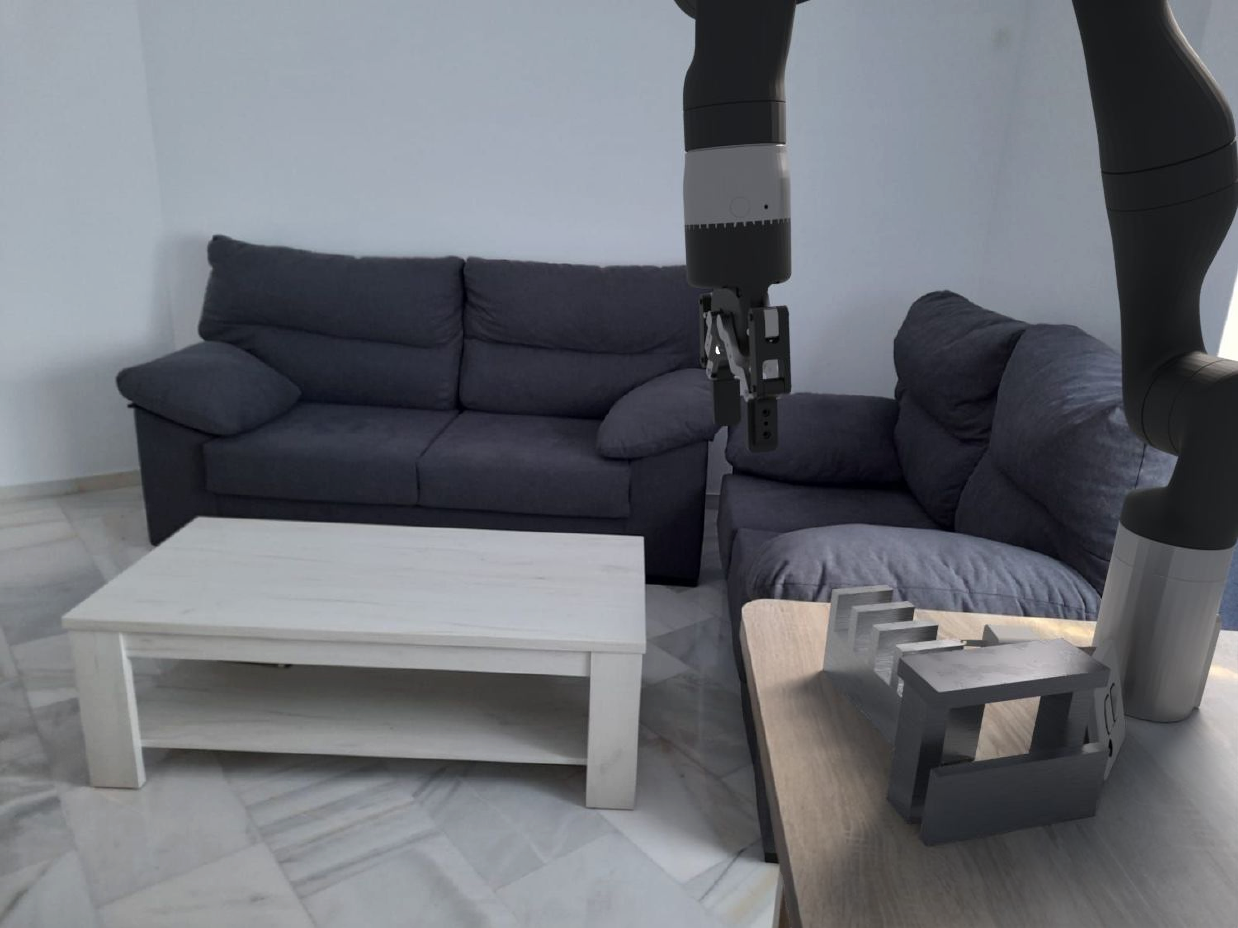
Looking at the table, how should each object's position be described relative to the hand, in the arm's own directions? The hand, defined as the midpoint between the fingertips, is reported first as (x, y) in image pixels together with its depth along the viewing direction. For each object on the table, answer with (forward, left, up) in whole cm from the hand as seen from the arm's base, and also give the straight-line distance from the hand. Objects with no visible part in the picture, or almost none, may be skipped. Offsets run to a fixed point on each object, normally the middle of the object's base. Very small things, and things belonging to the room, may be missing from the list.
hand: (743, 437), depth 67 cm
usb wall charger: (-33, -7, -28) cm, 44 cm away
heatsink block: (-18, -2, -28) cm, 33 cm away
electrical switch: (-31, +7, -28) cm, 42 cm away
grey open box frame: (-18, +11, -28) cm, 35 cm away
